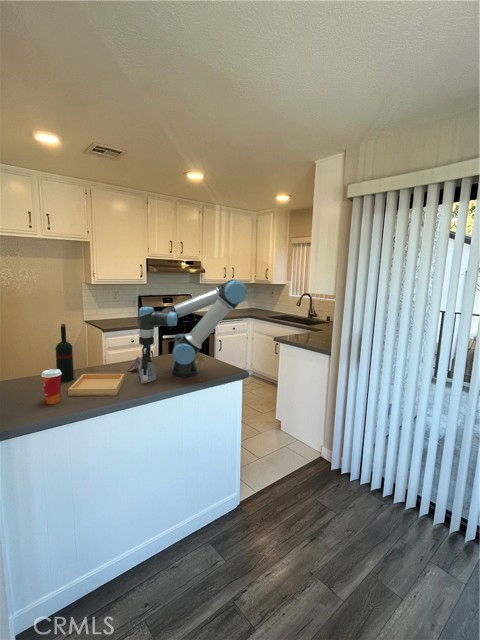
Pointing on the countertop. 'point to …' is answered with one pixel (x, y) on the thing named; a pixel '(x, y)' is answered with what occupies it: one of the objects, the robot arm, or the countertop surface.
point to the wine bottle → (64, 357)
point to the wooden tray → (97, 385)
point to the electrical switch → (150, 373)
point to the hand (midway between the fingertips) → (146, 377)
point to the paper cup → (52, 385)
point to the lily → (136, 363)
